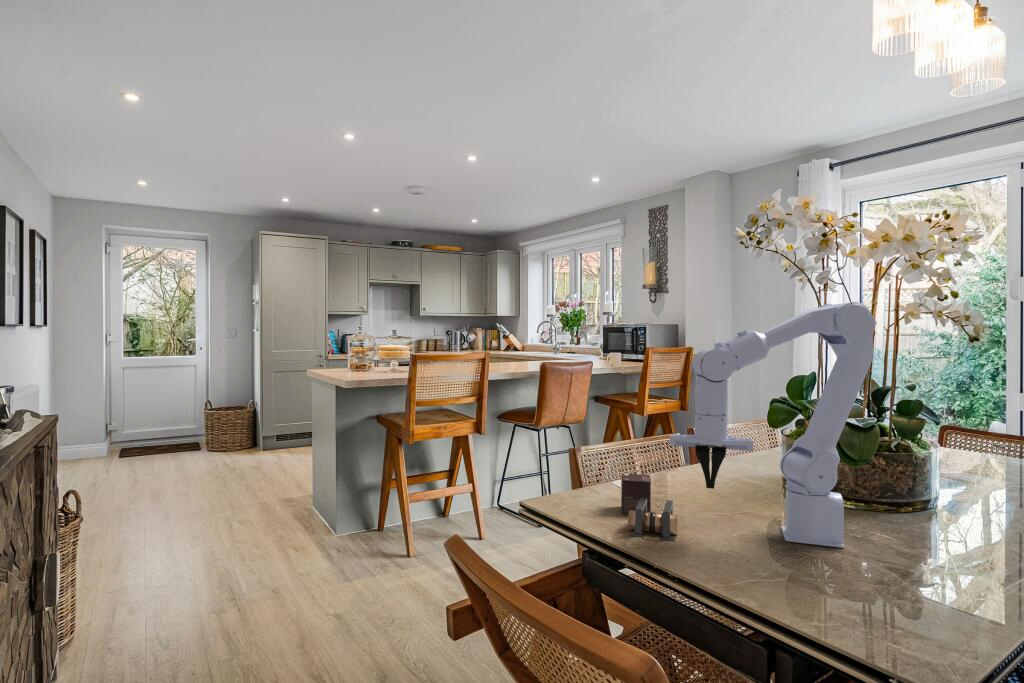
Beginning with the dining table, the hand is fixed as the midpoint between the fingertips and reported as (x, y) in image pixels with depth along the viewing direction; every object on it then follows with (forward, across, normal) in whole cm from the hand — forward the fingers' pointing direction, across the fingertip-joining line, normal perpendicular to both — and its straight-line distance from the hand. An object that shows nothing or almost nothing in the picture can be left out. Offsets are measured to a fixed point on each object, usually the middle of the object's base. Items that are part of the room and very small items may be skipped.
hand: (710, 487), depth 108 cm
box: (+10, +15, -11) cm, 21 cm away
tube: (+9, +10, 0) cm, 14 cm away
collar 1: (+9, +13, 0) cm, 16 cm away
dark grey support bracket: (+9, +8, 0) cm, 12 cm away
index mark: (+9, +10, +5) cm, 14 cm away
